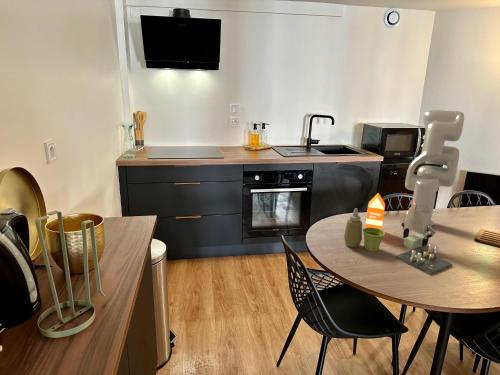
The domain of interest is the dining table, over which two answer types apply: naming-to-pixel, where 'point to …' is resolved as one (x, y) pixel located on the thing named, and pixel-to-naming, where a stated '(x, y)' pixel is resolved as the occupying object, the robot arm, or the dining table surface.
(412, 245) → the pale green block
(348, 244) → the squeeze bottle
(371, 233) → the plant pot
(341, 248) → the dining table surface
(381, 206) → the orange juice
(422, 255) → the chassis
